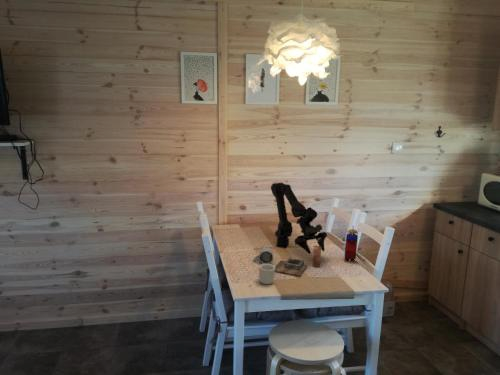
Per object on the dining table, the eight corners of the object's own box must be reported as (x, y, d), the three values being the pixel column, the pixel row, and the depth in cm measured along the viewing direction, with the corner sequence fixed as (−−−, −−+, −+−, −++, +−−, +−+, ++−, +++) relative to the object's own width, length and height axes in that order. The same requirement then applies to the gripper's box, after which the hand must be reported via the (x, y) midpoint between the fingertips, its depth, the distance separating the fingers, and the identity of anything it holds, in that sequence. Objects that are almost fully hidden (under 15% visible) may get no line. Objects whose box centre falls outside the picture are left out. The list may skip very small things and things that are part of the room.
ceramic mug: (272, 258, 223) (272, 245, 221) (272, 264, 215) (273, 251, 213) (253, 258, 223) (253, 245, 222) (253, 264, 215) (253, 250, 214)
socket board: (272, 271, 206) (272, 265, 206) (280, 262, 219) (280, 256, 218) (300, 277, 201) (300, 270, 200) (307, 267, 213) (307, 260, 213)
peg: (311, 266, 214) (312, 247, 212) (313, 264, 218) (314, 245, 215) (318, 268, 212) (320, 248, 210) (320, 265, 216) (321, 246, 214)
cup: (256, 276, 200) (257, 261, 199) (272, 276, 201) (273, 261, 199) (259, 285, 190) (259, 270, 188) (275, 285, 191) (276, 270, 189)
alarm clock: (355, 264, 219) (358, 229, 215) (339, 262, 221) (342, 227, 217) (356, 255, 233) (359, 222, 228) (341, 253, 235) (344, 220, 231)
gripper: (298, 221, 210) (309, 248, 203) (326, 217, 219) (338, 243, 212) (289, 231, 218) (300, 257, 211) (316, 227, 227) (327, 252, 220)
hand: (317, 252), depth 213 cm, fingers open, 9 cm apart
